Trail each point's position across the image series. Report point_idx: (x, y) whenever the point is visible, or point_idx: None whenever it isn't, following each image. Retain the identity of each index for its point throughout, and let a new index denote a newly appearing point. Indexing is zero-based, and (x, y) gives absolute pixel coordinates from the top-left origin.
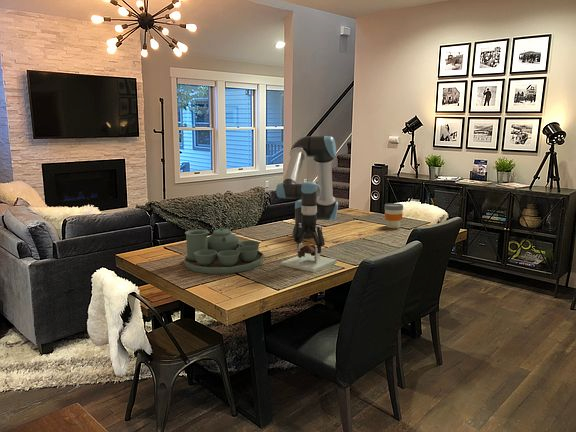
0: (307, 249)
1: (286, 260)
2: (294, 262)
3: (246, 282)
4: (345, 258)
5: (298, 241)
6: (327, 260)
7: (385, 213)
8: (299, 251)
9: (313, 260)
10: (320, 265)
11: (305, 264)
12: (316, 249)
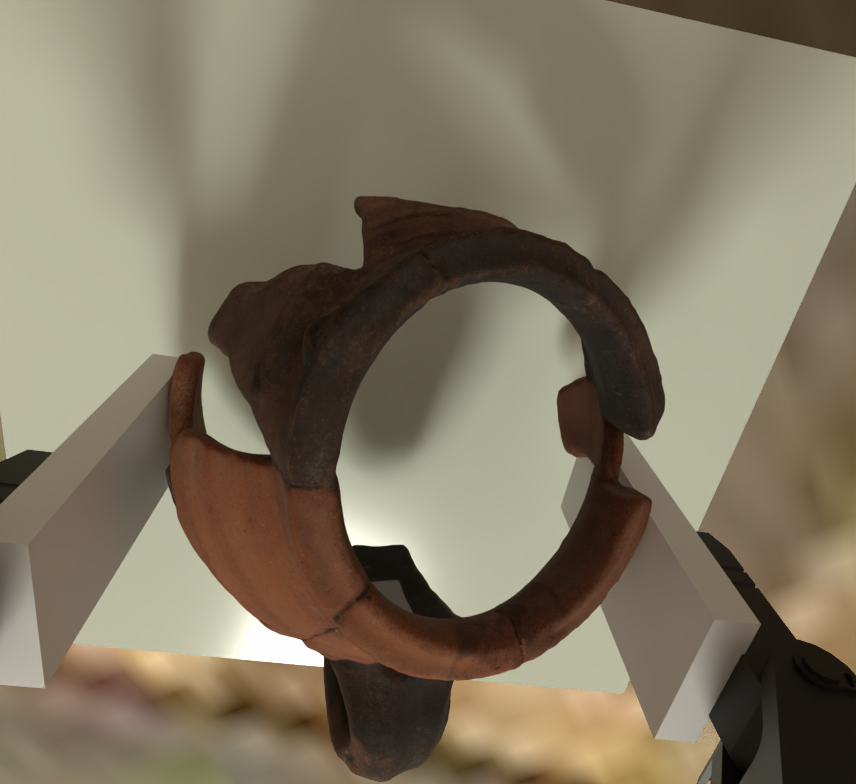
0: (299, 377)
1: (811, 239)
2: (608, 180)
3: None
4: (78, 767)
5: (817, 708)
6: None
7: None
8: (635, 479)
9: None
10: (20, 226)
11: (331, 149)
12: (28, 490)
